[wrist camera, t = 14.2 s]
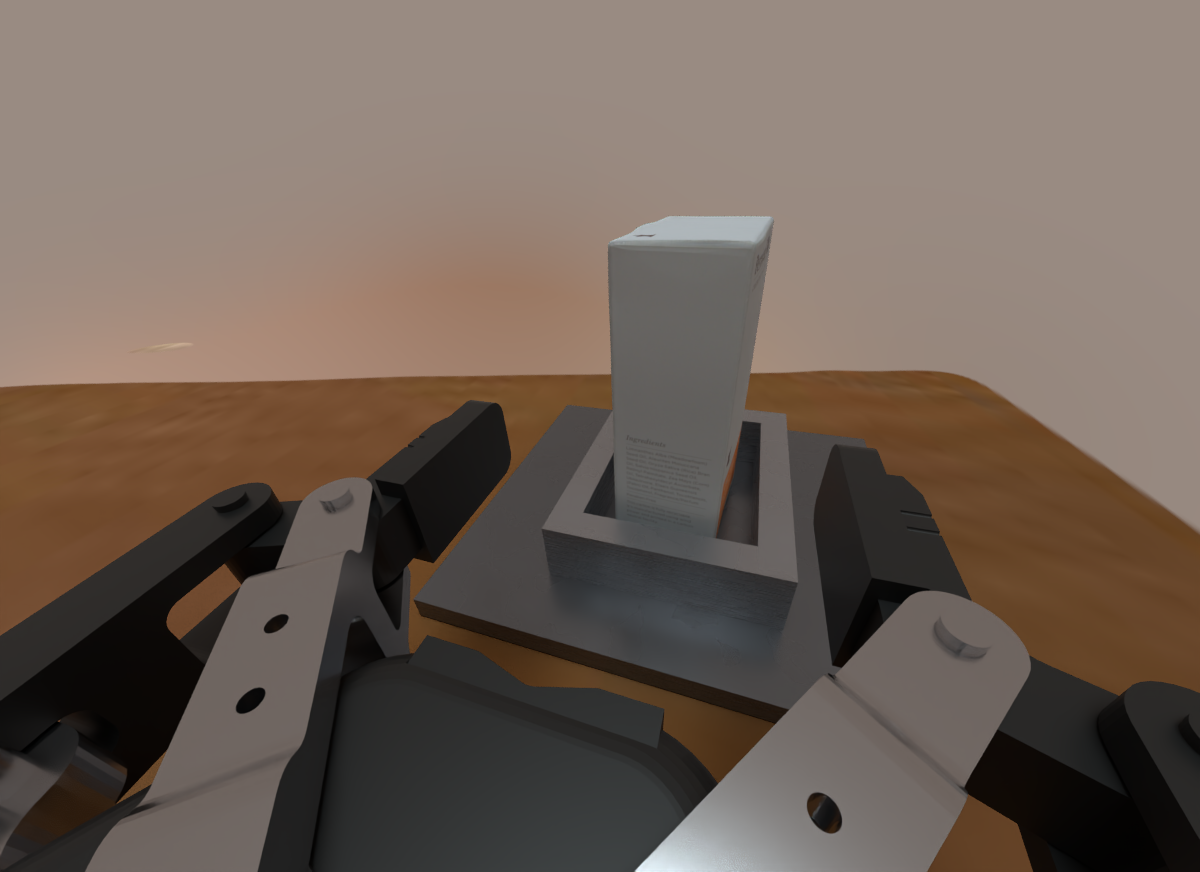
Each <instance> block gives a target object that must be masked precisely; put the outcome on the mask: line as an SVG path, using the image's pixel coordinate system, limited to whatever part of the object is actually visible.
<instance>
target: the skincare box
mask: <svg viewBox="0 0 1200 872" xmlns="http://www.w3.org/2000/svg"><path fill="white" fill-rule="evenodd" d="M773 223H774V219H773V217H762V216H760V217H759V216H730V217H729V216H726V217H725V216H718V217H717V216H715V217H714V216H712V217H711V216H709V217H708V216H704V217H699V216H698V217H696V216H669V217H666V218H664V219H661V220H659V221H657V222H654V223H647V224H644V225H642V226H640V227H638V228H636V229H635V230H634V231H633V232H632V233H630V234H627V235H626V236H623V237H620V238H617V239H615V240H613V241H611V242H609V244H608V277H609V279H608V280H609V281H608V283H609V314H610V341H611V376H612V406H613V442H614V478H615V513H616V519H618V520H623V521H628V522H633V523H639V524H644V525H649V526H654V527H659V528H665V529H670V530H675V531H680V532H685V533H690V534H696V535H701V536H706V537H711V538H717V534H718V530H719V525H720V521H721V517H722V513H723V509H724V506H725V503H726V500H727V497H728V493H729V490H730V487H731V484H732V480H733V476H734V471H735V464H736V458H737V452H738V446H739V439H740V433H741V427H742V421H743V414H744V408H745V402H746V396H747V389H748V383H749V377H750V371H751V364H752V358H753V351H754V345H755V339H756V333H757V326H758V319H759V314H760V306H761V301H762V294H763V288H764V282H765V275H766V269H767V262H768V256H769V249H770V243H771V236H772V228H773Z"/></svg>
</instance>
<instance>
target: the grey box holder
mask: <svg viewBox="0 0 1200 872" xmlns="http://www.w3.org/2000/svg"><path fill="white" fill-rule="evenodd" d="M835 444H839V445H847V446H856V447H864V448H867V447H866V444H865V441H864V439H857V438H849V437H840V436H832V435H823V434H814V433H806V432H797V431H788V430H787V422H786V414H782V413H772V412H763V411H753V410H744V414H743V421H742V427H741V433H740V439H739V446H738V452H737V458H736V464H735V471H734V476H733V480H732V484H731V487H730V490H729V493H728V497H727V500H726V503H725V506H724V509H723V513H722V517H721V521H720V525H719V530H718V534H717V538H711V537H706V536H701V535H696V534H690V533H685V532H680V531H675V530H670V529H665V528H659V527H654V526H649V525H644V524H639V523H633V522H628V521H623V520H618V519H616V513H615V478H614V442H613V410H607V409H598V408H589V407H581V406H572V405H567V406H566V408H565V409H564V410H563V411H562V413H561V414H560V415H559V416H558V418H557V419H556V420H555V421H554V423H553V424H552V425H551V427H550V428H549V429H548V430H547V432H546V433H545V434H544V435H543V437H542V438H541V439H540V440H539V442H538V443H537V444H536V445H535V447H534V448H533V449H532V450H531V452H530V453H529V454H528V456H527V457H526V458H525V459H524V461H523V462H522V463H521V464H520V466H519V467H518V468H517V469H516V471H515V472H514V473H513V474H512V476H511V477H510V478H509V480H508V481H507V482H506V483H505V485H504V486H503V487H502V488H501V490H500V491H499V492H498V493H497V495H496V496H495V497H494V498H493V500H492V501H491V502H490V503H489V505H488V506H487V507H486V509H485V510H484V511H483V512H482V514H481V515H480V516H479V517H478V519H477V520H476V521H475V522H474V524H473V525H472V526H471V527H470V529H469V530H468V531H467V533H466V534H465V535H464V536H463V538H462V539H461V540H460V541H459V543H458V544H457V545H456V546H455V548H454V549H453V550H452V551H451V553H450V554H449V555H448V556H447V558H446V559H445V560H444V562H443V563H442V564H441V565H440V567H439V568H438V569H437V570H436V572H435V573H434V574H433V575H432V577H431V578H430V579H429V580H428V582H427V583H426V584H425V586H424V587H423V588H422V589H421V591H420V592H419V593H418V594H417V596H416V597H415V598H414V599H413V600H414V602H415V604H416V606H417V608H418V610H419V613H420V615H422V616H425V617H428V618H432V619H435V620H438V621H441V622H445V623H448V624H451V625H455V626H458V627H461V628H464V629H468V630H471V631H474V632H478V633H481V634H484V635H487V636H491V637H494V638H497V639H501V640H504V641H507V642H510V643H514V644H517V645H520V646H524V647H527V648H530V649H534V650H537V651H540V652H543V653H547V654H550V655H553V656H557V657H560V658H563V659H566V660H570V661H573V662H576V663H580V664H583V665H586V666H589V667H593V668H596V669H599V670H603V671H606V672H609V673H612V674H616V675H619V676H622V677H626V678H629V679H632V680H636V681H639V682H642V683H645V684H649V685H652V686H655V687H659V688H662V689H665V690H668V691H672V692H675V693H678V694H682V695H685V696H688V697H691V698H695V699H698V700H701V701H705V702H708V703H711V704H714V705H718V706H721V707H724V708H728V709H731V710H734V711H738V712H741V713H744V714H747V715H751V716H754V717H757V718H761V719H764V720H767V721H770V722H774V723H777V722H778V721H779V720H780V719H781V718H782V717H783V716H784V715H785V714H786V713H787V712H788V711H789V710H790V709H791V708H792V707H793V705H794V704H795V703H796V702H797V701H798V700H799V699H800V698H801V697H802V696H803V695H804V694H805V693H806V692H807V691H808V690H809V689H810V688H811V687H812V686H813V685H814V684H815V683H816V682H817V681H818V680H819V679H820V678H821V677H823V676H824V675H826V674H828V673H830V674H831V675H833V676H834V675H835V674H836V673H837V672H838V671H839V670H840V669H841V668H840V667H836V666H832V661H831V654H830V646H829V639H828V631H827V624H826V616H825V609H824V601H823V594H822V586H821V579H820V571H819V564H818V556H817V549H816V541H815V533H814V523H813V522H814V508H815V503H816V499H817V495H818V492H819V488H820V485H821V482H822V478H823V475H824V472H825V468H826V465H827V462H828V458H829V455H830V452H831V449H832V447H833V446H834V445H835Z"/></svg>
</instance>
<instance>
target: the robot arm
mask: <svg viewBox="0 0 1200 872" xmlns="http://www.w3.org/2000/svg"><path fill="white" fill-rule="evenodd" d="M510 460H511V451H510V446H509V441H508V436H507V431H506V426H505V421H504V416H503V411H502V408H501V407H500V405H499V404H497V403H491V402H483V401H474V400H470V401H468V402H466V403H465V404H464V405H463V406H461V407H460V408H459V409H458V410H457V411H455V412H454V413H453V414H452V415H451V416H449V417H448V418H445V419H443V420H441V421H439V422H437V423H435V424H433V425H432V426H430V427H429V428H428V429H427V430H426V431H424V432H423V433H422V434H421V435H419V438H416V439H415V440H413V441H412V442H411V443H410V444H408V447H405V448H404V449H402V450H401V451H400V452H399V453H397V454H396V455H395V456H394V457H393V458H391V459H390V460H389V461H388V462H386V463H385V464H384V465H383V466H382V467H380V468H379V469H378V470H377V471H375V472H374V473H373V474H372V475H371V476H369V477H368V478H367V479H363V478H345V479H340V480H336V481H333V482H331V483H328V484H326V485H323V486H322V487H320V488H318V489H316V490H315V491H313V492H312V493H311V494H309V495H308V496H307V497H306V498H305V499H304V500H303V501H287V502H279V500H278V499H277V497H276V496H275V494H274V492H273V491H272V489H271V487H270V486H269V485H267V484H264V483H248V484H243V485H239V486H236V487H232V488H230V489H227V490H225V491H222V492H220V493H218V494H216V495H214V496H213V497H211V498H209V499H208V500H206V501H205V502H203V503H202V504H200V505H198V506H197V507H195V508H194V509H192V510H191V511H189V512H188V513H186V514H185V515H183V516H182V517H180V518H179V519H177V520H176V521H174V522H173V523H171V524H170V525H168V526H167V527H165V528H164V529H162V530H160V531H159V532H157V533H156V534H154V535H153V536H151V537H150V538H148V539H147V540H145V541H144V542H142V543H141V544H139V545H138V546H136V547H135V548H133V549H132V550H130V551H129V552H127V553H126V554H124V555H122V556H121V557H119V558H118V559H116V560H115V561H113V562H112V563H110V564H109V565H107V566H106V567H104V568H103V569H101V570H100V571H98V572H97V573H95V574H94V575H92V576H91V577H89V578H88V579H86V580H84V581H83V582H81V583H80V584H78V585H77V586H75V587H74V588H72V589H71V590H69V591H68V592H66V593H65V594H63V595H62V596H60V597H59V598H57V599H56V600H54V601H53V602H51V603H50V604H48V605H46V606H45V607H43V608H42V609H40V610H39V611H37V612H36V613H34V614H33V615H31V616H30V617H28V618H27V619H25V620H24V621H22V622H21V623H19V624H18V625H16V626H15V627H13V628H12V629H10V630H8V631H7V632H5V633H4V634H2V635H1V636H0V872H927V870H928V869H929V867H930V865H931V863H932V862H933V860H934V858H935V856H936V855H937V853H938V851H939V849H940V848H941V846H942V844H943V842H944V841H945V839H946V837H947V835H948V834H949V832H950V830H951V828H952V826H953V825H954V823H955V821H956V819H957V818H958V816H959V814H960V812H961V810H962V808H963V806H964V804H965V802H966V799H967V796H968V794H969V795H971V796H972V797H974V798H976V799H977V800H979V801H981V802H982V803H984V804H986V805H987V806H989V807H991V808H992V809H994V810H996V811H997V812H999V813H1001V814H1002V815H1004V816H1006V817H1007V818H1009V819H1011V820H1012V821H1014V822H1016V823H1017V824H1018V826H1019V829H1020V832H1021V835H1022V839H1023V842H1024V845H1025V848H1026V851H1027V854H1028V857H1029V860H1030V863H1031V866H1032V869H1033V872H1200V693H1198V692H1195V691H1193V690H1190V689H1187V688H1184V687H1181V686H1177V685H1174V684H1169V683H1164V682H1154V681H1147V682H1139V683H1136V684H1134V685H1132V686H1131V687H1130V688H1128V689H1127V690H1126V691H1125V692H1123V693H1122V694H1121V695H1120V696H1118V695H1116V694H1113V693H1111V692H1109V691H1106V690H1104V689H1102V688H1099V687H1097V686H1095V685H1093V684H1090V683H1088V682H1086V681H1083V680H1081V679H1079V678H1076V677H1074V676H1072V675H1070V674H1067V673H1065V672H1063V671H1060V670H1058V669H1056V668H1053V667H1051V666H1049V665H1047V664H1045V663H1043V662H1041V661H1039V660H1036V659H1035V658H1033V657H1031V656H1029V654H1028V652H1027V650H1026V648H1025V646H1024V644H1023V643H1022V642H1021V640H1020V639H1019V637H1018V636H1017V635H1016V634H1015V633H1014V632H1013V630H1012V629H1011V628H1010V627H1009V626H1008V625H1006V624H1005V623H1004V622H1003V621H1002V620H1001V619H999V618H998V617H997V616H996V615H994V614H993V613H991V612H990V611H988V610H987V609H985V608H984V607H982V606H980V605H978V604H976V603H974V602H972V600H971V598H970V596H969V594H968V591H967V589H966V587H965V585H964V583H963V581H962V579H961V576H960V574H959V572H958V570H957V568H956V566H955V563H954V561H953V559H952V557H951V555H950V553H949V551H948V548H947V546H946V544H945V542H944V540H943V538H942V536H939V532H940V531H939V529H938V527H937V525H936V523H935V520H934V519H932V518H931V516H932V514H931V512H930V510H929V508H928V505H927V503H926V501H925V499H924V497H923V495H922V494H921V493H920V492H919V491H918V490H917V489H916V488H915V487H913V486H912V485H911V484H910V483H909V482H908V481H907V480H906V479H905V478H904V477H902V476H894V475H887V474H886V472H885V469H884V467H883V464H882V461H881V459H880V456H879V454H878V451H877V450H876V449H873V448H864V447H856V446H847V445H839V444H835V445H834V446H833V447H832V449H831V452H830V455H829V458H828V462H827V465H826V468H825V472H824V475H823V478H822V482H821V485H820V488H819V492H818V495H817V499H816V503H815V508H814V522H813V523H814V533H815V541H816V549H817V556H818V564H819V571H820V579H821V586H822V594H823V601H824V609H825V616H826V624H827V631H828V639H829V646H830V654H831V661H832V666H836V667H840V668H841V669H840V670H839V671H838V672H837V673H836V674H835V675H834V676H833V675H831V674H830V673H828V674H826V675H824V676H823V677H821V678H820V679H819V680H818V681H817V682H816V683H815V684H814V685H813V686H812V687H811V688H810V689H809V690H808V691H807V692H806V693H805V694H804V695H803V696H802V697H801V698H800V699H799V700H798V701H797V702H796V703H795V704H794V705H793V707H792V708H791V709H790V710H789V711H788V712H787V713H786V714H785V715H784V716H783V717H782V718H781V719H780V720H779V721H778V722H777V723H776V724H775V725H774V726H773V727H772V728H771V729H770V731H769V732H768V733H767V734H766V735H765V736H764V737H763V738H762V739H761V740H760V741H759V742H758V743H757V744H756V745H755V746H754V747H753V748H752V749H751V750H750V751H749V752H748V754H747V755H746V756H745V757H744V758H743V759H742V760H741V761H740V762H739V763H738V764H737V765H736V766H735V767H734V768H733V769H732V770H731V771H730V772H729V773H728V774H727V775H726V776H725V778H724V779H723V780H722V781H721V782H720V783H719V784H718V783H717V782H716V780H715V779H714V778H713V776H712V775H711V774H710V772H709V771H708V770H707V769H706V767H705V766H704V765H703V764H702V763H701V762H700V761H699V760H698V759H697V758H696V757H695V756H694V755H693V754H692V753H691V752H690V751H689V750H688V749H687V748H686V747H684V746H683V745H682V744H681V743H680V742H679V741H677V740H676V739H675V738H673V737H672V736H670V735H669V734H667V733H666V732H665V731H663V720H664V709H662V708H659V707H656V706H653V705H650V704H646V703H643V702H640V701H637V700H634V699H630V698H627V697H624V696H621V695H617V694H614V693H611V692H608V691H605V690H601V689H598V688H564V687H533V686H528V685H525V684H524V683H522V682H521V681H519V680H518V679H516V678H515V677H514V676H512V675H511V674H509V673H508V672H507V671H505V670H504V669H502V668H501V667H500V666H498V665H497V664H495V663H494V662H493V661H491V660H490V659H488V658H487V657H486V656H484V655H483V654H482V653H480V652H479V651H476V650H473V649H470V648H467V647H464V646H460V645H457V644H454V643H451V642H448V641H444V640H441V639H438V638H435V637H431V636H428V635H427V636H426V638H425V639H424V640H423V642H422V643H421V645H420V646H419V648H418V649H417V650H416V652H415V653H411V654H410V652H409V645H408V628H409V602H410V571H409V568H408V566H407V565H408V564H409V563H410V562H411V560H412V559H413V558H416V559H420V560H424V561H427V562H431V563H434V562H435V561H436V560H437V558H438V557H439V556H440V555H441V553H442V552H443V551H444V550H445V548H446V547H447V546H448V545H449V543H450V542H451V541H452V540H453V538H454V537H455V536H456V535H457V534H458V532H459V531H460V530H461V529H462V527H463V526H464V525H465V524H466V522H467V521H468V520H469V519H470V517H471V516H472V515H473V514H474V512H475V511H476V510H477V509H478V507H479V506H480V505H481V504H482V503H483V501H484V500H485V499H486V498H487V496H488V495H489V494H490V493H491V491H492V490H493V489H494V488H495V486H496V485H497V484H498V483H499V481H500V480H501V479H502V478H503V476H504V475H505V474H506V472H507V471H508V468H509V465H510ZM224 563H225V564H226V566H227V567H228V568H229V569H230V571H231V572H232V573H233V575H234V576H235V577H236V578H237V580H238V581H239V582H240V583H241V587H239V588H238V589H237V590H236V591H235V592H234V593H233V594H231V595H230V596H229V597H228V598H227V599H226V600H225V601H224V602H222V603H221V604H220V605H219V606H218V607H217V608H216V609H214V610H213V611H212V612H211V613H210V614H209V615H208V616H206V617H205V618H204V619H203V620H202V621H201V622H200V623H199V624H197V625H196V626H195V627H194V628H193V629H192V630H191V631H189V632H188V633H187V634H186V635H185V636H184V637H183V638H181V639H180V640H179V639H178V638H177V637H176V636H174V635H173V634H172V633H171V632H170V631H169V629H168V627H167V623H166V621H167V616H168V613H169V611H170V610H171V608H172V607H173V606H174V604H175V603H176V602H177V601H179V600H180V599H181V598H182V597H183V596H185V595H186V594H187V593H188V592H190V591H191V590H192V589H193V588H195V587H196V586H197V585H198V584H200V583H201V582H202V581H203V580H204V579H206V578H207V577H208V576H209V575H211V574H212V573H213V572H214V571H216V570H217V569H218V568H219V567H221V566H222V565H223V564H224ZM60 719H61V720H60ZM58 720H60V722H58ZM167 749H168V750H167ZM166 750H167V752H166V754H165V757H164V759H163V761H162V763H161V766H160V768H159V770H158V772H157V774H156V777H155V779H154V781H153V783H152V784H151V785H150V786H148V787H146V788H144V789H143V790H141V791H139V792H137V793H136V794H134V795H132V796H130V797H129V798H127V799H125V800H123V801H122V802H120V803H118V804H116V803H117V802H118V801H119V800H120V799H121V798H122V797H123V796H124V795H125V794H126V793H127V792H128V790H129V789H130V788H131V787H132V786H133V785H134V784H135V783H136V782H137V781H138V780H139V779H140V778H141V777H142V776H143V775H144V774H145V773H146V771H147V770H148V769H149V768H150V767H151V766H152V765H153V764H154V763H155V762H156V761H157V760H158V759H159V758H160V757H161V756H162V755H163V754H164V752H165V751H166Z"/></svg>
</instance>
